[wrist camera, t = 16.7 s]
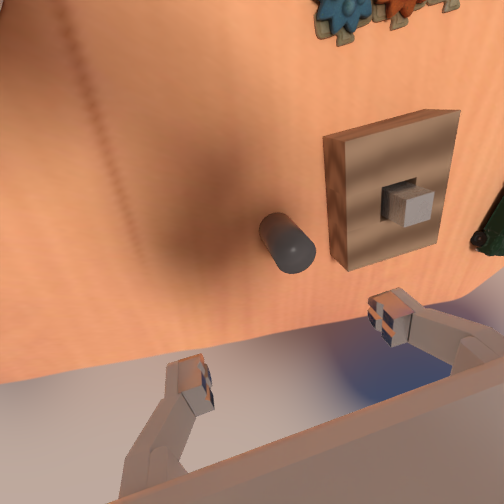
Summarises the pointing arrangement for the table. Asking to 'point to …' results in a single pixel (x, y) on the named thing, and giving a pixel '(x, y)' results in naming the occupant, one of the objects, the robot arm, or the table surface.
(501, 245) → the miniature car
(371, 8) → the gear puzzle
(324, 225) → the table surface
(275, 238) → the round bit
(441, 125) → the bore block
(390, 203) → the square bit
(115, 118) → the table surface
